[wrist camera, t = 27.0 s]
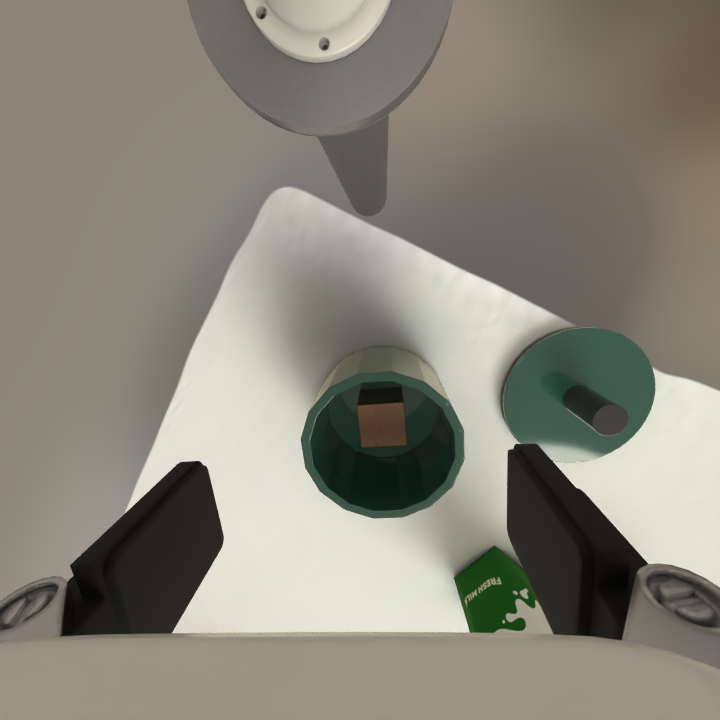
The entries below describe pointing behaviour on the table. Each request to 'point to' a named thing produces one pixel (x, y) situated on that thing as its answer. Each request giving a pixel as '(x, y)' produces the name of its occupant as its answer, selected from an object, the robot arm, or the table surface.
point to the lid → (579, 393)
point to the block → (381, 417)
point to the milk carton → (499, 597)
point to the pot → (386, 463)
